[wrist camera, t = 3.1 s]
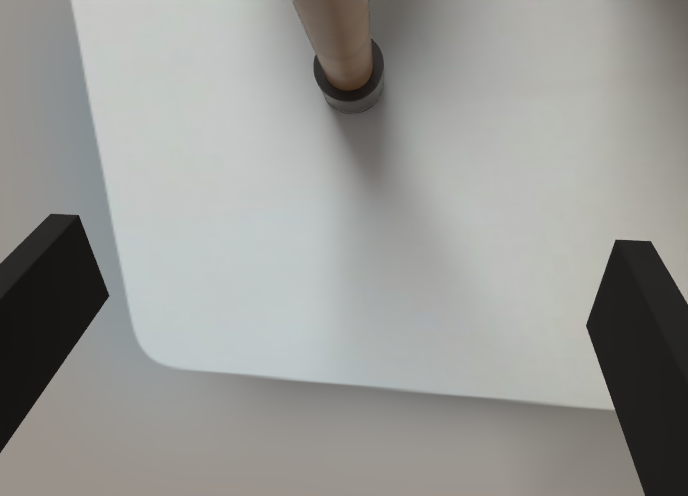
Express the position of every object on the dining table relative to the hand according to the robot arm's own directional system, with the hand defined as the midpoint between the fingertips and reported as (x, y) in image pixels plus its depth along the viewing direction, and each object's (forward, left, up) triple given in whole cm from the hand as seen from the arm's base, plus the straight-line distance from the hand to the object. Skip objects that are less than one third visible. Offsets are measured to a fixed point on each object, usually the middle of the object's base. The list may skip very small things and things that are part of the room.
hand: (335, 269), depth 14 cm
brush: (+1, -10, -22) cm, 24 cm away
